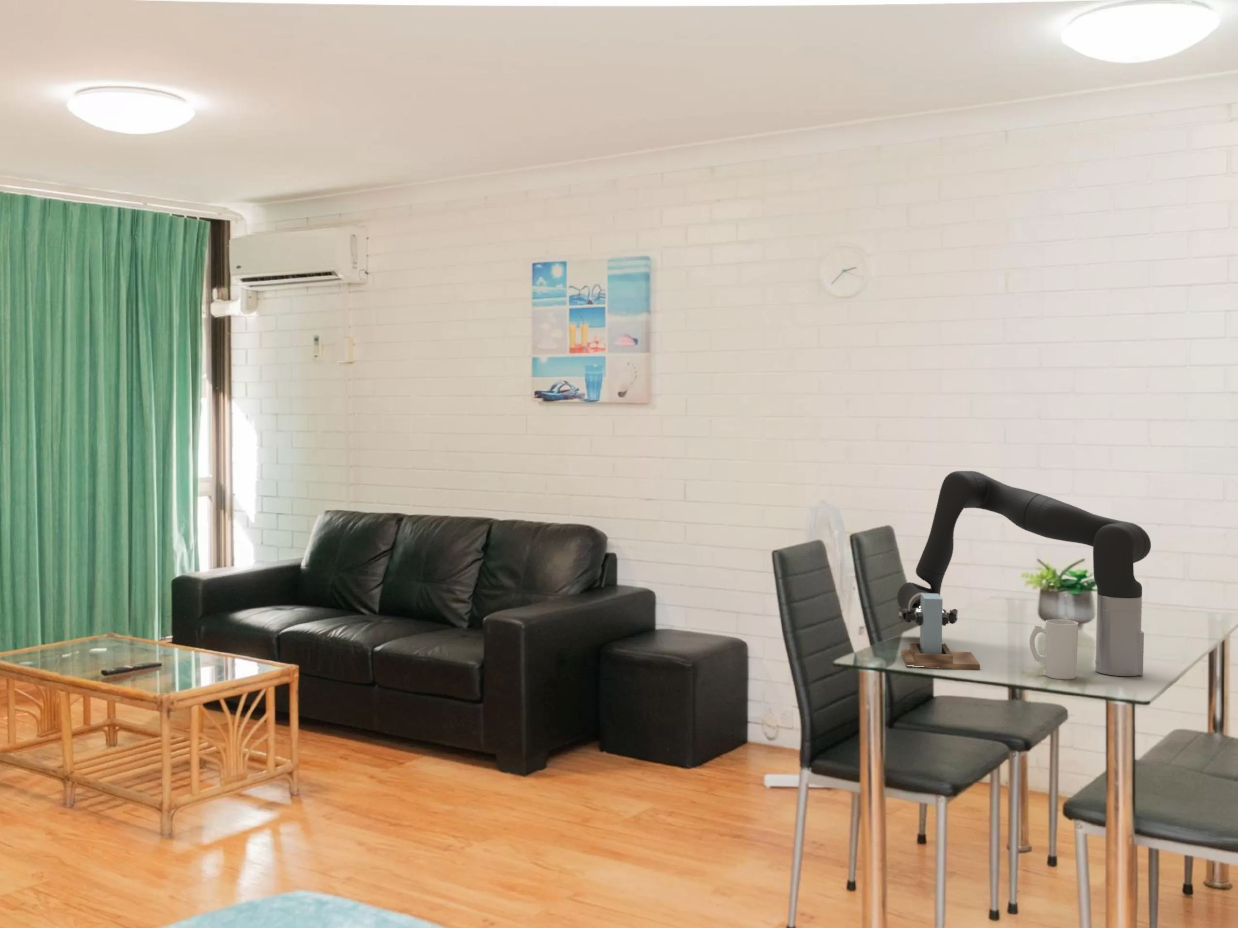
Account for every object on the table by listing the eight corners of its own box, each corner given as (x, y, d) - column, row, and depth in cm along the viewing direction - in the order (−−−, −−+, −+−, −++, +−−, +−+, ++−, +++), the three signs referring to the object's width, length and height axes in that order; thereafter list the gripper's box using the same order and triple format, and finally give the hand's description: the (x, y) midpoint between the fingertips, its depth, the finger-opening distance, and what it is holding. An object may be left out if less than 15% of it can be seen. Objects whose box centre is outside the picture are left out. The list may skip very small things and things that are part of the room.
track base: (970, 656, 288) (970, 644, 288) (979, 669, 273) (980, 656, 273) (901, 654, 290) (901, 641, 290) (906, 667, 275) (906, 653, 275)
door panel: (937, 652, 286) (938, 593, 286) (941, 660, 277) (942, 599, 277) (919, 652, 287) (920, 593, 286) (923, 659, 278) (924, 598, 277)
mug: (1079, 675, 268) (1080, 621, 267) (1074, 681, 262) (1075, 625, 262) (1032, 670, 273) (1033, 617, 272) (1026, 675, 267) (1027, 621, 267)
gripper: (894, 593, 297) (900, 603, 280) (955, 594, 295) (965, 605, 278) (894, 623, 297) (900, 636, 280) (955, 625, 295) (964, 638, 278)
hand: (932, 620), depth 279 cm, fingers open, 4 cm apart
